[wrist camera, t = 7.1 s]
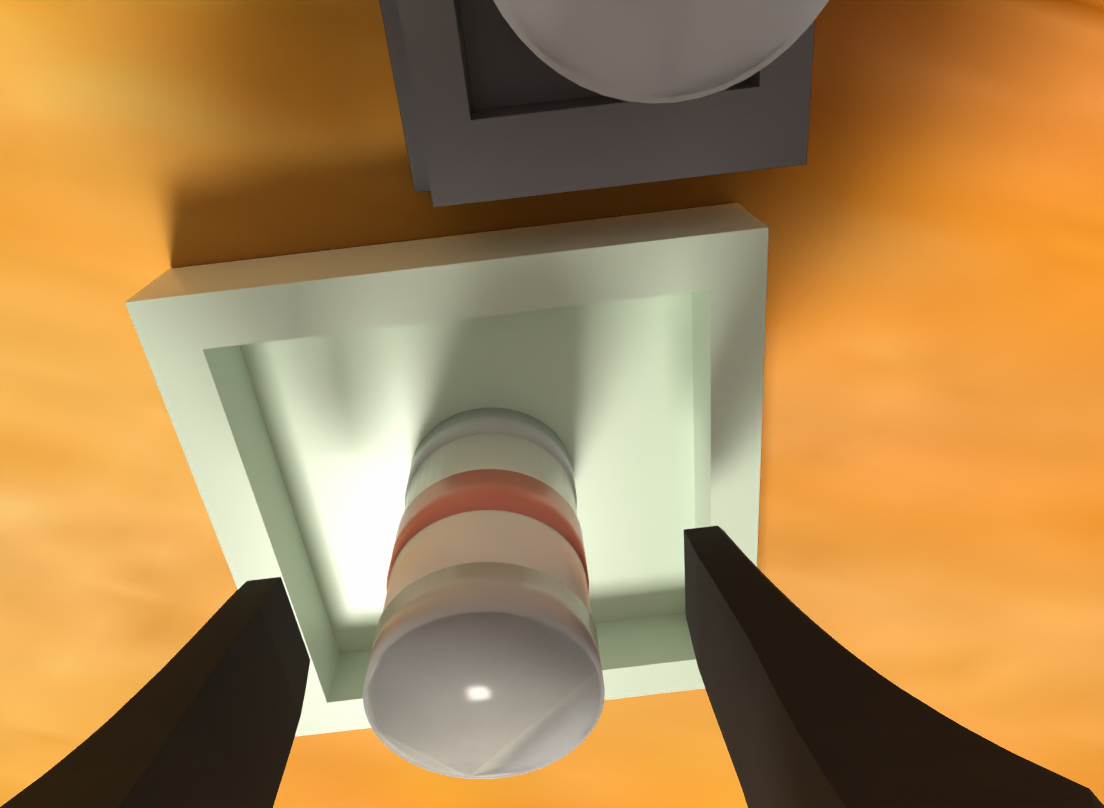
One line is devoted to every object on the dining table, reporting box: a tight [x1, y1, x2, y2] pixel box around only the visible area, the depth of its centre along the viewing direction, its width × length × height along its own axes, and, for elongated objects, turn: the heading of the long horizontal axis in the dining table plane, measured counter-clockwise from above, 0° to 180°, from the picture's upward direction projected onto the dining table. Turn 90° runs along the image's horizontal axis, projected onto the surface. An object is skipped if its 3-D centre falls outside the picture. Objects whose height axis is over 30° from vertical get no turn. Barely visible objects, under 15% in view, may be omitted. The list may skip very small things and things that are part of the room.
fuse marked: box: [363, 408, 605, 779], centre depth 14 cm, size 4×4×6 cm
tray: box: [125, 203, 769, 736], centre depth 16 cm, size 11×11×2 cm
